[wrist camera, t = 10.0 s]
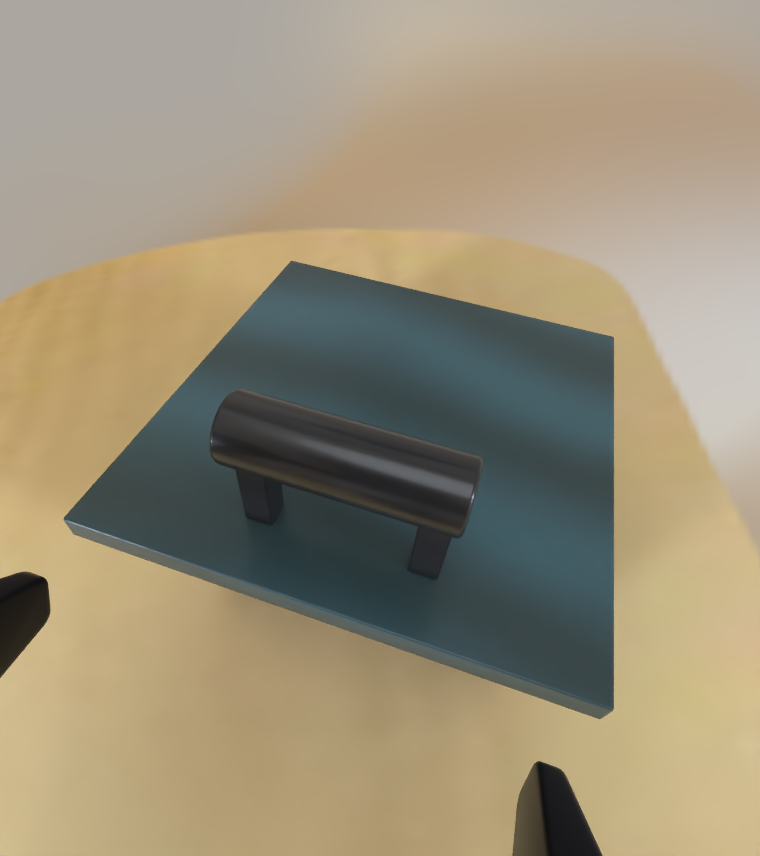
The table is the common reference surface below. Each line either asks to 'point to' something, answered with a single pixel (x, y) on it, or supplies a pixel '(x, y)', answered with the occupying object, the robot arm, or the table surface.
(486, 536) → the lid
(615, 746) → the table surface
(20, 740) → the table surface
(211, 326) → the table surface
